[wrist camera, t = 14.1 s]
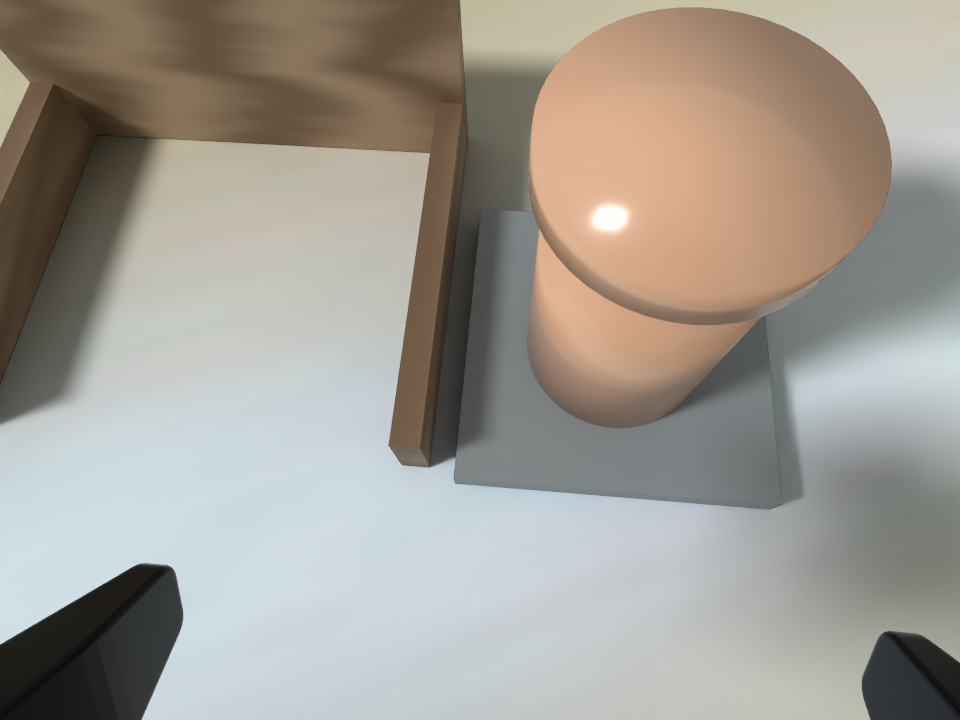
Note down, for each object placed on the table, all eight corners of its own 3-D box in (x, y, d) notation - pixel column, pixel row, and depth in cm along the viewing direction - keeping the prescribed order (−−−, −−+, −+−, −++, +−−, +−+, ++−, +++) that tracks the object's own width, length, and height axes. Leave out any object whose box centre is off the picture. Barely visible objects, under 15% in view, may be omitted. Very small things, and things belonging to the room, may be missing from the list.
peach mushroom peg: (708, 265, 24) (865, 14, 14) (717, 447, 21) (919, 304, 11) (522, 253, 24) (541, 0, 14) (509, 430, 22) (520, 277, 12)
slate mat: (747, 238, 26) (756, 224, 25) (769, 509, 22) (782, 505, 21) (481, 222, 26) (481, 208, 25) (455, 483, 22) (453, 478, 21)
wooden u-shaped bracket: (467, 136, 28) (457, -34, 20) (429, 467, 22) (396, 399, 15) (83, 116, 29) (-61, -53, 21) (-44, 428, 23) (-296, 347, 16)
